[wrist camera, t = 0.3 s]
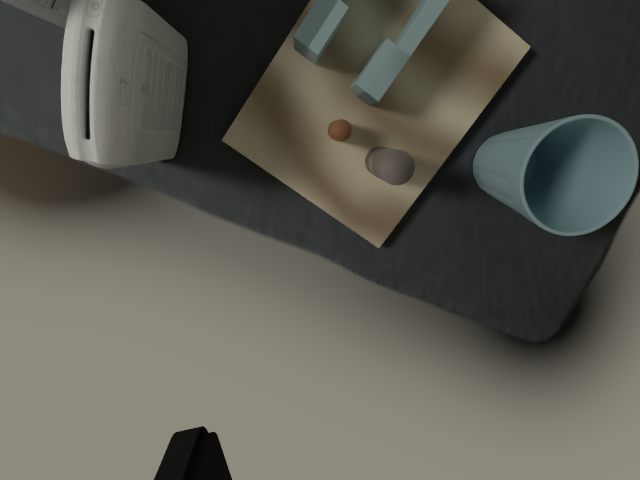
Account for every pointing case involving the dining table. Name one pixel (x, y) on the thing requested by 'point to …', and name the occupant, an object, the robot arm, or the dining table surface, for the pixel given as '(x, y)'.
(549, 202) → the cup
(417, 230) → the dining table surface
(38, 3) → the supplement box
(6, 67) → the dining table surface
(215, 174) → the dining table surface
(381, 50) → the u-shaped channel block
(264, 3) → the dining table surface
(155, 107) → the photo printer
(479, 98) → the board
